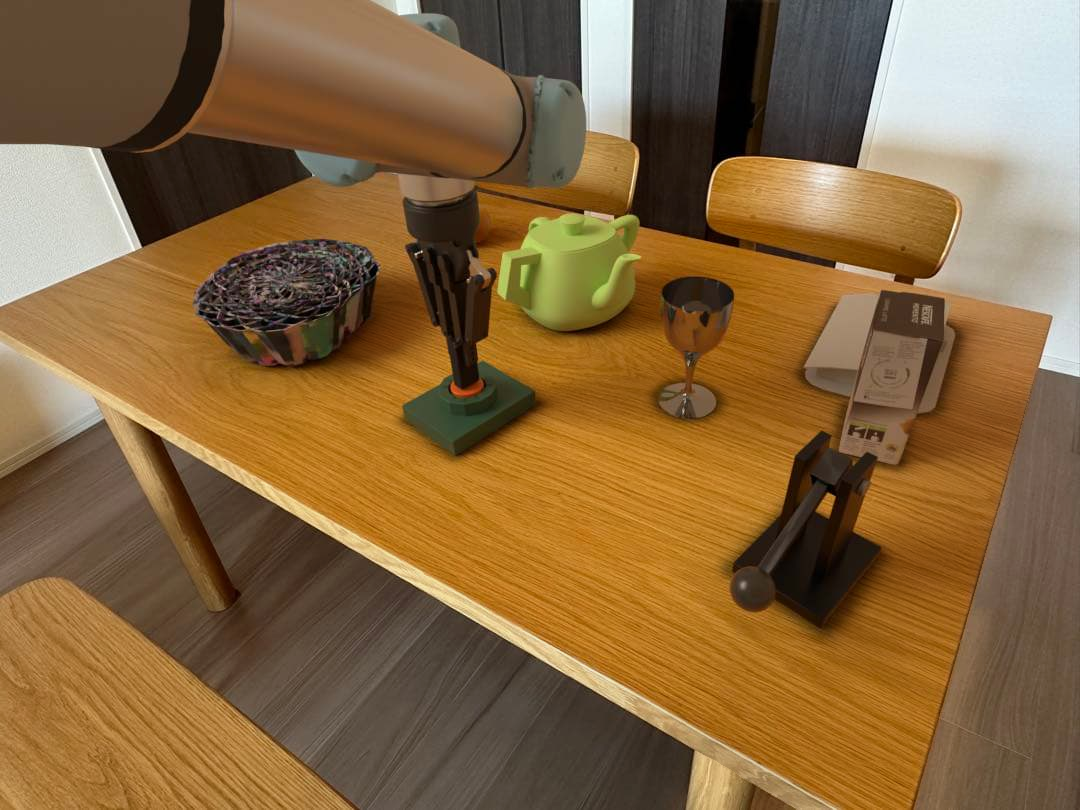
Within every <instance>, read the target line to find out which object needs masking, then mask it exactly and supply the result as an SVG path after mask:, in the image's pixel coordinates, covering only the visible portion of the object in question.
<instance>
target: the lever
mask: <svg viewBox="0 0 1080 810" xmlns="http://www.w3.org/2000/svg"><path fill="white" fill-rule="evenodd" d="M853 465H854V460H853V458H852V457H850V456H848V455H847V454H845V453H841V452H839V451H837V450H836V449H833V448H831V447H830V446H829V447H827V449H826V450H825V452H824V453H823V455H822V456H821V458H820V459H819V461H818V462H817V463H816V465H815V466H814V468H813V469H812V471H811V472H810V476H811V481H812V484H813V486H812V487H811V489H810V490H809V492H808V493H807V495H806V496H805V498H804V499H803V501H802V502H801V504H800V505H799V507H798V508H797V510H796V511H795V513H794V514H793V515H792V517H791V518H790V520H789V521H788V523H787V524H786V526H785V527H784V529H783V530H782V532H781V533H780V535H779V536H778V538H777V539H776V541H775V542H774V543H773V545H772V546H771V548H770V549H769V551H768V552H767V554H766V555H765V557H764V558H763V560H762V561H761V563H760V564H759V566H758V567H753V566H749V567H744V568H742V569H740V570H738V571H737V572H736V573H733V575H732V577H731V579H730V582H729V593H730V597H731V599H732V601H733V602H734V603H735V605H737V607H739V608H740V609H742V610H743V611H745V612H748V613H760V612H763V611H765V610H768V609H769V607H771V606H772V605H773V603H774V601H775V597H776V586H775V582H774V580H773V579H772V577H771V576H772V575H773V573H774V572H775V570H776V569H777V567H778V566H779V564H780V563H781V561H782V560H783V558H784V557H785V555H786V554H787V553H788V551H789V550H790V548H791V547H792V545H793V544H794V542H795V541H796V539H797V538H798V536H799V535H800V533H801V532H802V530H803V529H804V527H805V526H806V524H807V523H808V521H809V520H810V518H811V517H812V515H813V514H814V512H817V510H818V508H819V507H820V505H821V503H822V502H823V500H824V499H825V497H826V496H827V495H828V494H830V495H832V496H834V497H836V494H837V491H838V487H839V484H840V481H841V478H842V477H843V476H844V475H845V474H846V473H847V472H848V471H849V470H850V469H851V468H852V467H853Z"/></svg>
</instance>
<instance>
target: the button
mask: <svg viewBox="0 0 1080 810" xmlns="http://www.w3.org/2000/svg"><path fill="white" fill-rule="evenodd" d="M483 391H484V383H483V381H482V379H481V378H479V381H477V382H475V383H473V384H472V385H470V386H468V387H466V388H465V389H463V390H462V389H460V388H458V387H457V386H455V385H454V381H453V382H452V383H451V393H452V395H453V396H455V397H460V398H469V397H474V396H477V395H479V394H480V393H482V392H483Z"/></svg>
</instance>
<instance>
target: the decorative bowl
mask: <svg viewBox="0 0 1080 810" xmlns="http://www.w3.org/2000/svg"><path fill="white" fill-rule="evenodd" d="M381 267H382V265H381V264H380V263H379V262H378V261H377V260H376V259H375V257H374V255H373V252H371V250H369V248H368V247H367V246H363V245H359V244H356V243H352V242H351V241H344V240H336V239H328V238H313V239H311V238H310V239H302V240H293V241H284V242H275V243H272V244H268V245H263V246H260V247H257V248H255V249H251V250H247V251H243V252H241V253H239V254H237V255H235V256H233V257H231V258H230V259H229V260H228V261H226V262H225V263H223V264H222V265H221V266H220V267H218V268H217V269H216V270H215V271H213V273H211V274H209V276H208V277H207V279H206V280H205V281H203V282H202V283H200V284H199V286H197V288H196V289H195V291H194V292H193V296H194V299H193V302H192V305H193V307H194V313H195V316H196V317H198V318H201V319H202V320H203V321H204V322H205V323H206V324H207V325H208V326H209V328H211V329H212V330H213V332H214V333H216V335H217V336H218V337H219V338H220V339H221V340H222V341H223V343H225V344H226V345H227V346H228V347H229V348H230V349H231V350H232V352H234V353H235V354H238V355H239V356H240V357H241V358H243V359H244V360H246V361H248V362H250V363H258V364H259V365H261V366H266V367H270V366H277V365H279V364H281V365H283V366H286V367H289V368H290V367H291V368H296V367H299V366H301V365H304V364H305V363H306V362H308V361H310V360H311V361H312V360H313V361H317V360H321V359H324V358H326V357H329V355H330V354H331V353H332V352H333V351H335V350H337V349H339V348H340V347H341V345H342V343H343V342H345V341H348V340H349V339H351V338H352V337H353V336H355V333H356V330H358V329H359V327H360V325H362V324H364V323H365V322H367V321H368V320H370V319H371V316H372V312H373V306H374V299H375V293H376V286H377V280H378V276H379V274H380V271H381Z"/></svg>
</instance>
